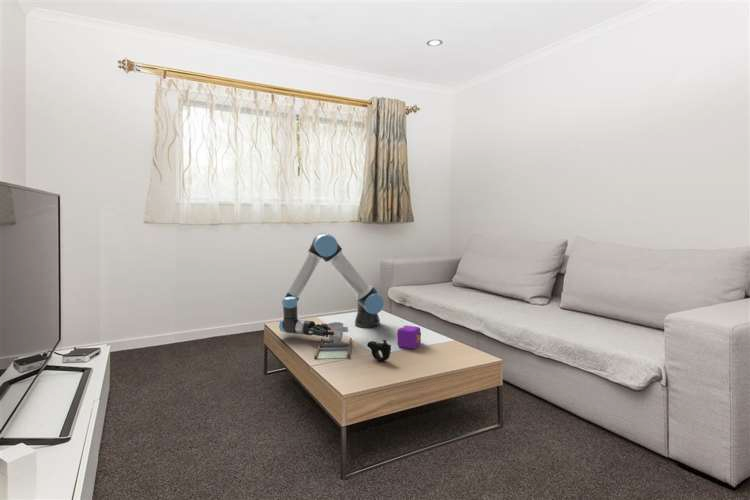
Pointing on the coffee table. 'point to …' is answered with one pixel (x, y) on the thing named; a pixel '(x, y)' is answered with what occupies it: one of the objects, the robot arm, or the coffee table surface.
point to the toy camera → (409, 337)
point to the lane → (322, 343)
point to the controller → (383, 347)
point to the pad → (332, 354)
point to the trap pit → (334, 347)
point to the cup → (336, 327)
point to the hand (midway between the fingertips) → (343, 331)
